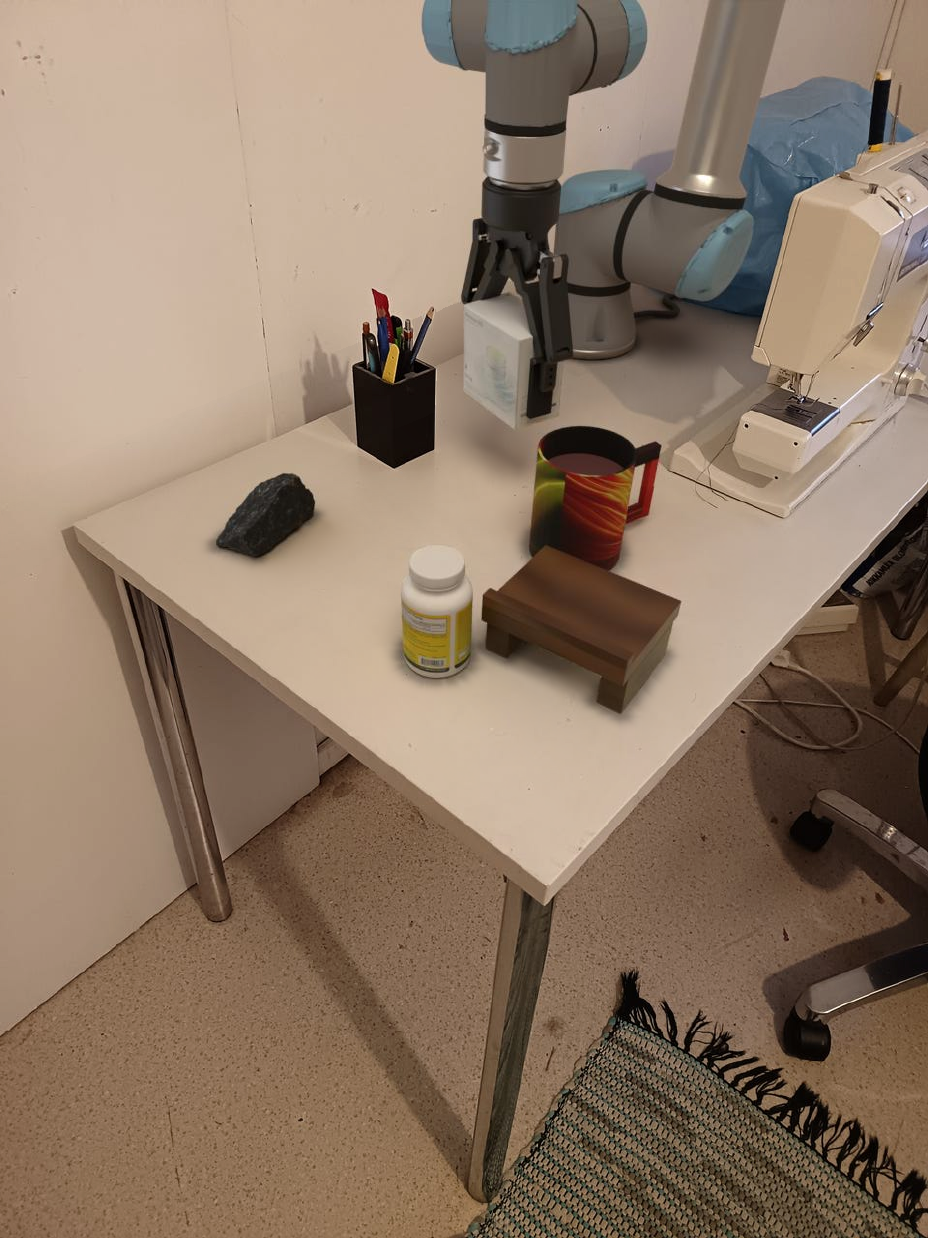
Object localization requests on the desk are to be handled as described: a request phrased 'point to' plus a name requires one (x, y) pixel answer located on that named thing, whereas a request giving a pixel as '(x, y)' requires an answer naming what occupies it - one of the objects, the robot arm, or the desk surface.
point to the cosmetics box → (502, 359)
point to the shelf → (583, 621)
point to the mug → (588, 492)
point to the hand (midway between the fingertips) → (510, 392)
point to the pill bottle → (437, 612)
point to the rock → (268, 515)
